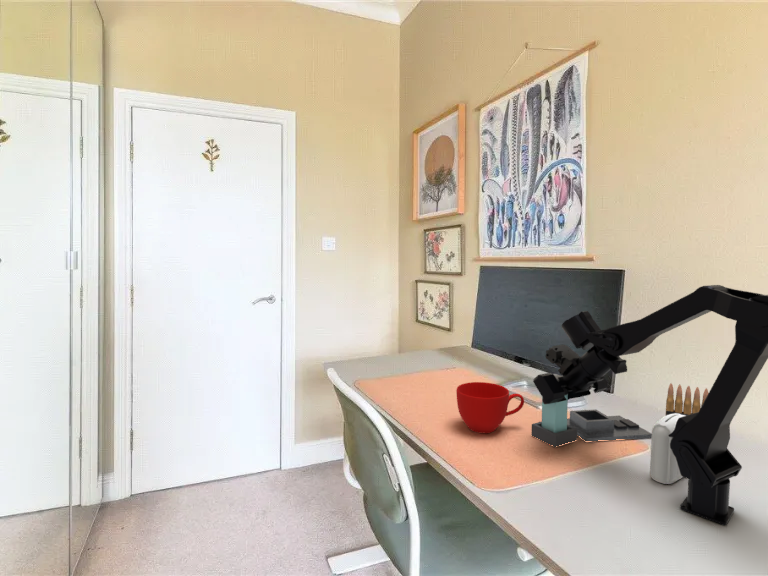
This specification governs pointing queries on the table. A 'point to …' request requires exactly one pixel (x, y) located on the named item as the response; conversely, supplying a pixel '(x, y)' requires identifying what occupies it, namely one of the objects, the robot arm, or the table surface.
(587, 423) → the switch
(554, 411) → the aqua plug
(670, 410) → the ammunition clip
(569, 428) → the box
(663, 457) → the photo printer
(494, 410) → the ceramic cup
